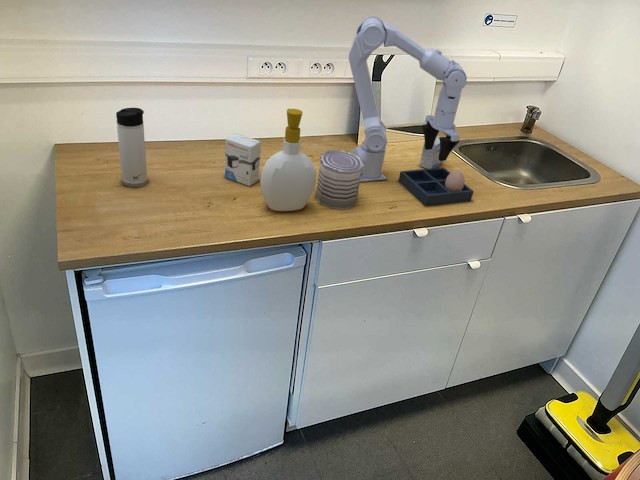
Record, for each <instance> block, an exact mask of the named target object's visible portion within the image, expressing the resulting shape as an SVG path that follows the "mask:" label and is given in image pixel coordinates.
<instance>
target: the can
mask: <svg viewBox="0 0 640 480" xmlns="http://www.w3.org/2000/svg"><path fill="white" fill-rule="evenodd" d="M319 159H320V161H319V169H318V175H317V184H316V185H317V186H316V193H315V199H316V200H317V201H318V203H319V204H320V205H322V206H324V207H327V208H329V209H333V210H347V209H350V208H353V207H355V205H356V203H357V201H358V195H359V189H360V184H361V182H360V178H361V172H362V167H363V166H364V164H363V162H362V161H361V159H360V158H359V157H358V156H356V155H354V154H351V152H349V151H346V150H342V149H341V150H338V149H337V150H336V149H327V150H325V151H324V152H323V153H322V154H320V155H319Z"/></svg>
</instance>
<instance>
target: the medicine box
mask: <svg viewBox="0 0 640 480" xmlns="http://www.w3.org/2000/svg"><path fill="white" fill-rule="evenodd" d="M439 137H441V136H440V135H437V137H436V139H435V142H434V145H433V148H432V149H431V150H426V149H425V141H424V143H423V147H422V152H421V156H420V161H419V167H421V168H422V169H433V168H438V167H440V165H442V164H443V162H444V161H439V152H440V140H439Z"/></svg>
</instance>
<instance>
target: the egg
mask: <svg viewBox="0 0 640 480" xmlns="http://www.w3.org/2000/svg"><path fill="white" fill-rule="evenodd" d="M464 184H465V175H464V174H463V172H462V171H461V170H458V169H455V170H452V171H450V174H449V175H448V176H447V178H446V181H445V188H447V189H448V190H449V191H450V192H457V191H461V190H462V189H463V187H464Z"/></svg>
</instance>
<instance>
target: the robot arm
mask: <svg viewBox="0 0 640 480" xmlns="http://www.w3.org/2000/svg"><path fill="white" fill-rule="evenodd" d="M382 45H383V47H384V48H389V47H396V48H397V49H399V50H401V51H402V52H404V53H405V54H407V55H409V56H410V57H412V58H414V59H415V60H417V61H418V63H419V64H418V65H419V68H420V69H421V70H423V71H424V72H426V73H427V74H429V75H430V76H432V77H433V78H434V79H436V80H438V81H442V84H441V88H440V91H439V93H438V94H439V95H438V99H437V103H436V107H435V110H434V115H433V114H432V115H430V114H429V115H425V119H424V122H425V123H426V124H422V125H421V128H422V132H423V137H424V142H425V149H426V150H431V149H432V148H433V145H434V142H435V139H436V137H437V136H439V135H438V134H439V133H440V132H441V133H442V134H443V135H445V136H440V137H439V140H440V152H439V161H443V162H445V161H446V160H448V157H449V155H450V154H451V152H452V151H453V149H455V147H456V146H457V145H458V144H459V143H460V136H461V135H460V133H459V132H458V131H457V130H456V124H455V120H456V117H457V116H456V115H457V111H458V108H459V104H460V100H461V96H462V95H461V94H462V91H463V89H464V88H465V87H466V85H468V80H467V79H468V77H467V73H466V72H465V70H464V69H463V67H462V66H461V65H460V64H459V63H458V62H457V61H456V60H454V59H452V60H451V59H449V58H448V57H446V56H445V55H443V54H442V53H443V51H442V50H440V49H439V48H437V49H435V48H427V49H425V48H424V47H422V46H421V45H420V44H418V42H416V41H415V40H413V39H412V38H410V37H409V36H408V35H406V34H405V33H404V32H403V31H402V30H401V31H400V29H398V28H397V27H395V26H394V25H392V24H390V23H389V22H387V21H382V19H380V18H379V17H377V16H372V15H371V16H368V17H366V18H364V19H363V20H362V21H361V23H360V24H359V26H358V27H357V28H356V30H355V35H354V37H353V40H352V43H351V46H350V48H349V51H348V62H349V66H350V70H351V74H352V79H353V82H354V83H353V84H354V88H355V92H356V95H357V99H358V103H359V108H360V112H361V115H362V120H363V127H364V140H363V141H362V142H361V144H360V145H359V146H358V147H354V148H352V149H351V151H350V153H351V154H354V155H356V156H358V157H359V158H360V159H361V161H362V162H363V164H364V166H363V167H362V172H361V178H360V183H362V182H372V181H373V182H374V181H383V180H387V177H386V176H385V175H384V174H383V173H382V171H383V165H384V161H385V155H386V150H387V144H388V138H387V127H386V125H385V124H384V122H383V121H382V120H381V116H380V113H379V108H378V105H377V100H376V95H375V93H374V87H373V83H372V80H371V74H370V68H369V65H368V59H369V57H370V56H371V55H372V53H373V52H374V51H376V50H377V49H379V48H380V47H381V46H382Z"/></svg>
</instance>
